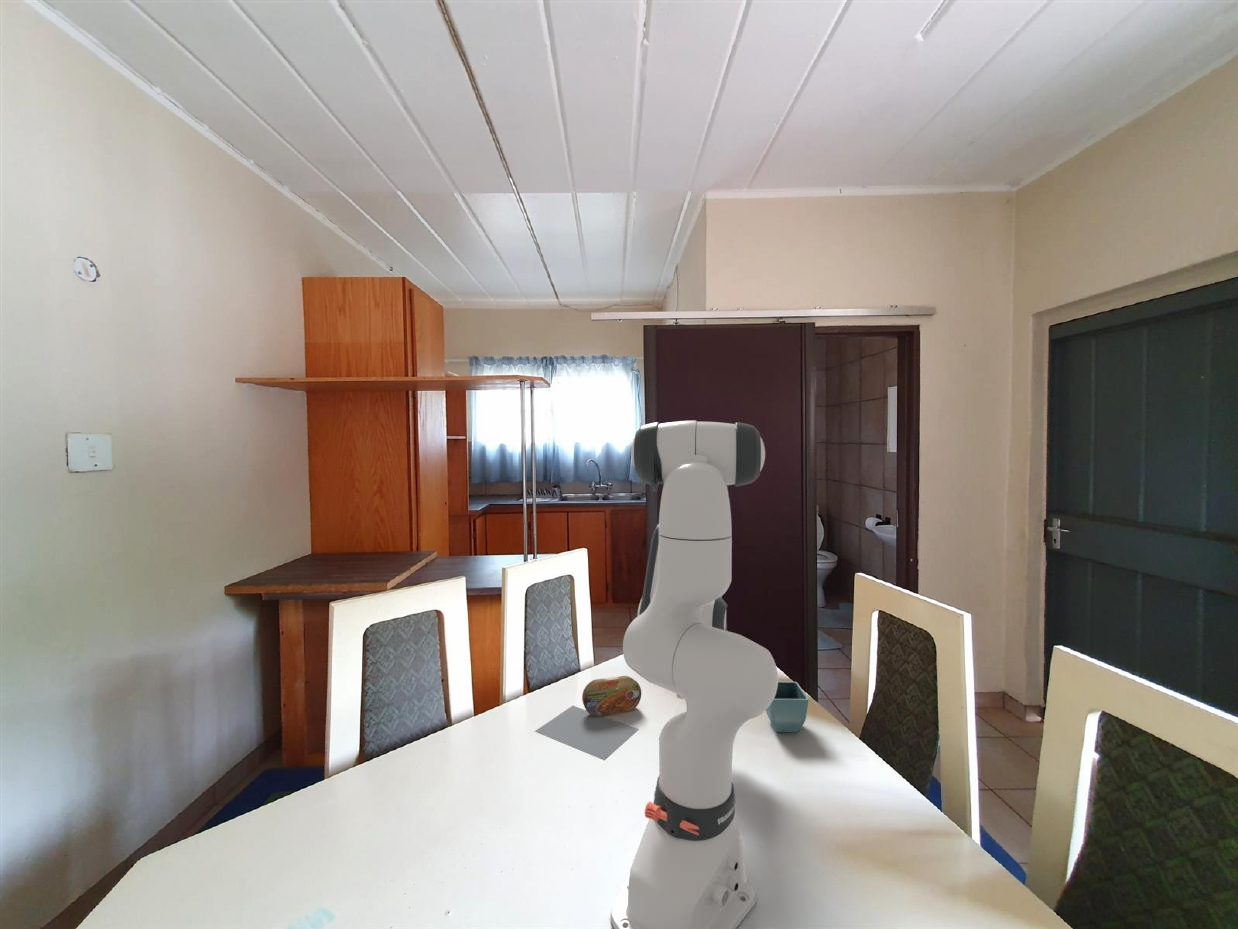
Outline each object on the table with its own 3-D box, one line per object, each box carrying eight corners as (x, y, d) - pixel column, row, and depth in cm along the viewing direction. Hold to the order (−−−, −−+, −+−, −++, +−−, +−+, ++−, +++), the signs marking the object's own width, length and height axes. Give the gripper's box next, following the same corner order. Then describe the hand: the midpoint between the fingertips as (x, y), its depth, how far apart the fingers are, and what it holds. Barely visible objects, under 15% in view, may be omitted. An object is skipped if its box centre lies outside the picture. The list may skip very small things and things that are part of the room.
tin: (583, 719, 121) (584, 684, 121) (580, 713, 124) (581, 679, 124) (641, 711, 126) (642, 677, 126) (637, 705, 129) (638, 672, 129)
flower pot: (809, 738, 113) (809, 699, 113) (770, 737, 114) (770, 699, 113) (796, 717, 122) (796, 681, 122) (760, 717, 122) (760, 681, 122)
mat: (604, 762, 105) (604, 760, 105) (534, 732, 116) (534, 731, 116) (639, 730, 117) (639, 729, 117) (572, 707, 128) (572, 705, 128)
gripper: (654, 636, 115) (652, 696, 115) (739, 656, 104) (738, 722, 104) (666, 629, 121) (665, 686, 121) (749, 647, 110) (748, 710, 110)
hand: (700, 703), depth 112 cm, fingers open, 8 cm apart
